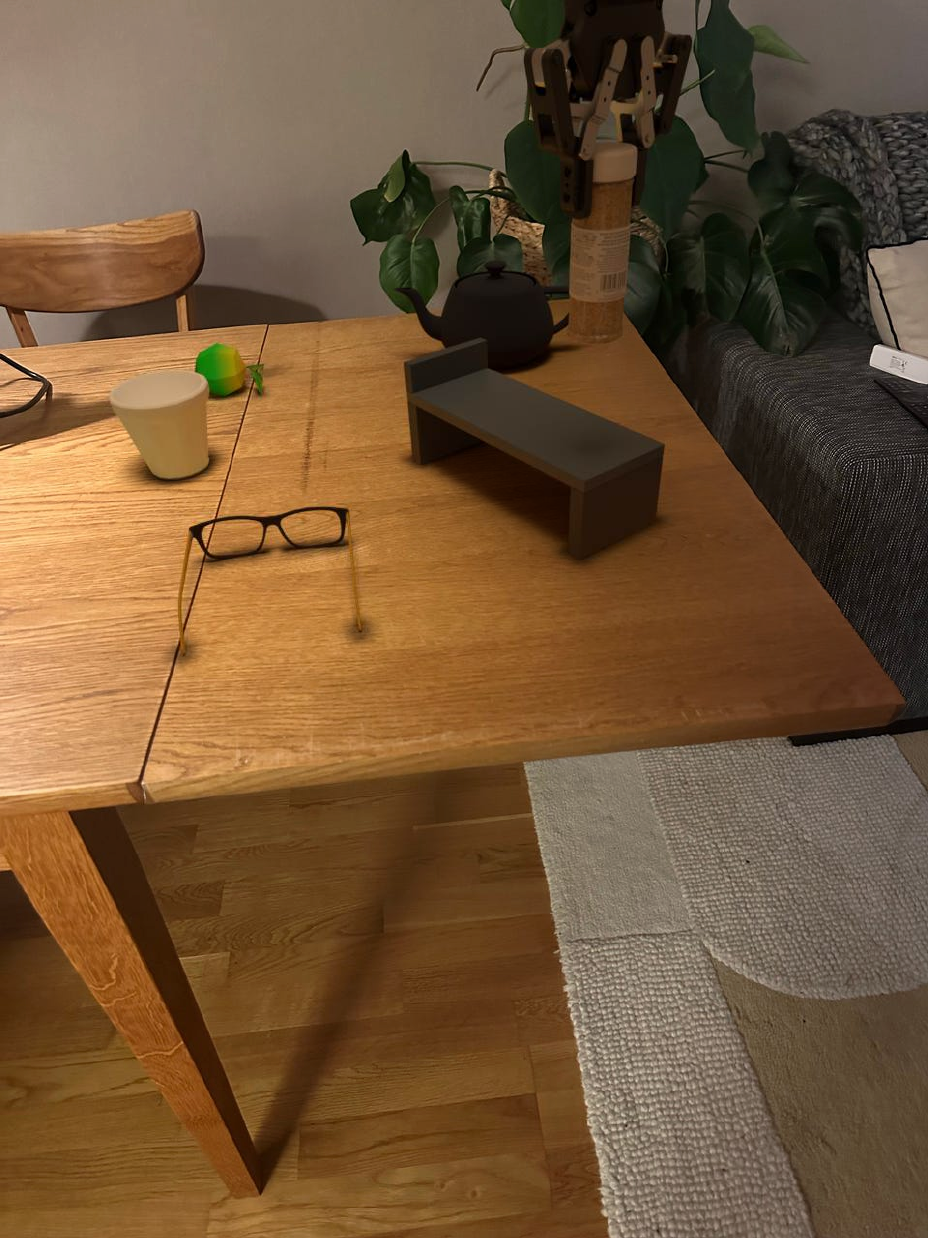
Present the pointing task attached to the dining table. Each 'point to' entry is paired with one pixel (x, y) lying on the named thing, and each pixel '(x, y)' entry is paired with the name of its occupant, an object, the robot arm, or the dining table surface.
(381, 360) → the dining table surface
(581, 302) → the sprinkles bottle
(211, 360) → the apple
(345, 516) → the eyeglasses
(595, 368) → the dining table surface
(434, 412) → the shelf
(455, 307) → the teapot
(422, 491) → the dining table surface
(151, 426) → the cup
